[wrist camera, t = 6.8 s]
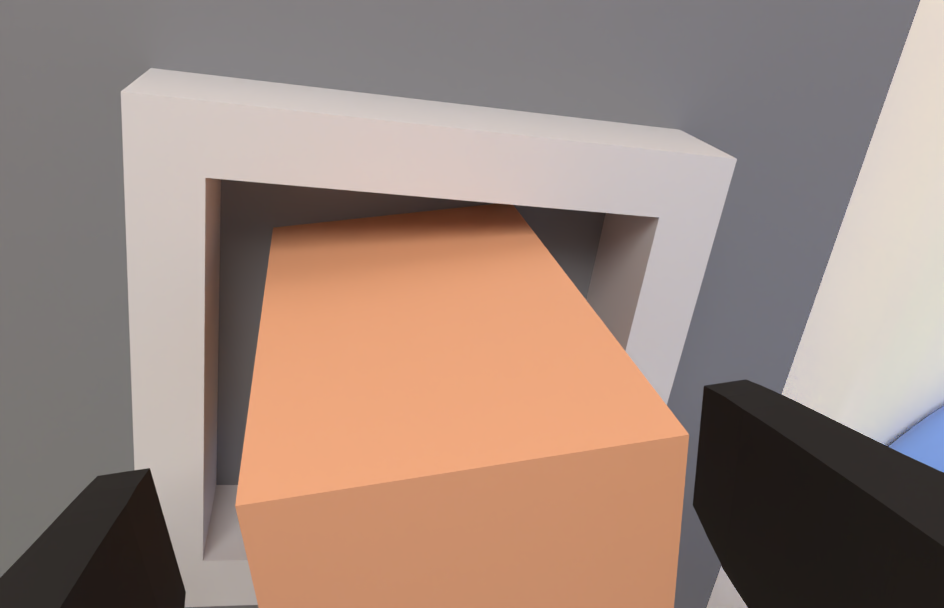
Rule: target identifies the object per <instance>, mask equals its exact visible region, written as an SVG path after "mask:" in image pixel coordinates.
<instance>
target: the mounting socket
mask: <svg viewBox="0 0 944 608" xmlns="http://www.w3.org/2000/svg"><path fill="white" fill-rule="evenodd" d="M919 2H920V0H0V577H1V576H2V575H3V574H4V573H5V572H6V571H7V570H8V569H9V568H10V567H11V566H12V565H13V564H14V563H15V562H16V561H17V560H18V559H19V558H20V557H21V556H22V555H23V554H24V552H25V551H26V550H27V549H28V548H29V547H30V546H31V545H32V544H33V543H34V542H35V541H36V540H37V539H38V538H39V537H40V536H41V534H42V533H43V532H44V531H45V530H46V529H47V528H48V527H49V526H50V525H51V524H52V523H53V522H54V521H55V520H56V518H57V517H58V516H59V515H60V514H61V513H62V512H63V511H64V510H65V509H66V508H67V507H68V506H69V505H70V503H71V502H72V501H73V500H74V499H75V498H76V497H77V496H78V495H79V494H80V493H81V492H82V491H83V490H84V489H85V488H86V487H87V486H88V485H89V484H90V483H91V482H92V481H93V480H94V479H95V478H96V477H97V476H100V475H106V474H113V473H120V472H126V471H133V470H140V469H147V468H150V470H151V474H152V477H153V480H154V484H155V487H156V491H157V494H158V498H159V501H160V505H161V508H162V512H163V515H164V519H165V522H166V525H167V529H168V532H169V536H170V539H171V543H172V546H173V550H174V553H175V557H176V560H177V563H178V567H179V570H180V574H181V577H182V581H183V584H184V588H185V591H186V595H185V607H184V608H259V607H258V603H257V599H256V594H255V590H254V586H253V581H252V577H251V573H250V568H249V564H248V560H247V555H246V551H245V547H244V543H243V538H242V534H241V530H240V525H239V521H238V517H237V512H236V508H235V503H236V496H237V488H238V481H239V474H240V466H241V459H242V452H243V444H244V437H245V430H246V422H247V415H248V408H249V400H250V393H251V386H252V378H253V371H254V364H255V356H256V349H257V342H258V334H259V327H260V320H261V312H262V305H263V298H264V290H265V283H266V276H267V268H268V261H269V254H270V246H271V239H272V232H273V228H274V227H283V226H292V225H302V224H311V223H320V222H330V221H339V220H348V219H358V218H367V217H376V216H386V215H395V214H405V213H414V212H423V211H433V210H442V209H451V208H461V207H470V206H479V205H489V204H498V203H499V204H510V205H514V207H515V208H516V209H517V210H518V212H519V213H520V214H521V216H522V217H523V218H524V220H525V221H526V222H527V224H528V225H529V226H530V227H531V229H532V230H533V231H534V233H535V234H536V235H537V237H538V238H539V239H540V240H541V242H542V243H543V244H544V246H545V247H546V248H547V250H548V251H549V252H550V254H551V255H552V256H553V257H554V259H555V260H556V261H557V263H558V264H559V265H560V267H561V268H562V269H563V271H564V272H565V273H566V274H567V276H568V277H569V278H570V280H571V281H572V282H573V284H574V285H575V286H576V287H577V289H578V290H579V291H580V293H581V294H582V295H583V297H584V298H585V299H586V301H587V302H588V303H589V304H590V306H591V307H592V308H593V310H594V311H595V312H596V314H597V315H598V316H599V317H600V319H601V320H602V321H603V323H604V324H605V325H606V327H607V328H608V329H609V331H610V332H611V333H612V334H613V336H614V337H615V338H616V340H617V341H618V342H619V344H620V345H621V346H622V348H623V349H624V350H625V351H626V353H627V354H628V355H629V357H630V358H631V359H632V361H633V362H634V363H635V364H636V366H637V367H638V368H639V370H640V371H641V372H642V374H643V375H644V376H645V378H646V379H647V380H648V381H649V383H650V384H651V385H652V387H653V388H654V389H655V391H656V392H657V393H658V394H659V396H660V397H661V398H662V400H663V401H664V402H665V404H666V405H667V406H668V408H669V409H670V410H671V411H672V413H673V414H674V415H675V417H676V418H677V419H678V421H679V422H680V423H681V424H682V426H683V427H684V428H685V430H686V431H687V432H688V434H689V443H688V454H687V465H686V476H685V488H684V499H683V510H682V522H681V533H680V544H679V555H678V567H677V578H676V589H675V600H674V608H706V607H707V604H708V601H709V598H710V595H711V592H712V590H713V587H714V584H715V581H716V578H717V575H718V573H719V570H720V567H721V563H720V561H719V559H718V557H717V555H716V553H715V551H714V549H713V547H712V545H711V543H710V541H709V539H708V537H707V535H706V533H705V530H704V528H703V526H702V524H701V522H700V520H699V518H698V515H697V513H696V511H695V509H694V507H693V496H694V485H695V475H696V464H697V453H698V443H699V432H700V421H701V411H702V400H703V389H704V386H705V385H711V384H718V383H725V382H731V381H738V380H745V379H746V380H749V381H751V382H754V383H756V384H759V385H761V386H764V387H766V388H768V389H770V390H773V391H775V392H777V393H779V394H782V391H783V388H784V385H785V382H786V380H787V377H788V374H789V371H790V368H791V365H792V363H793V360H794V357H795V354H796V351H797V348H798V346H799V343H800V340H801V337H802V334H803V331H804V328H805V326H806V323H807V320H808V317H809V314H810V311H811V309H812V306H813V303H814V300H815V297H816V294H817V292H818V289H819V286H820V283H821V280H822V277H823V275H824V272H825V269H826V266H827V263H828V260H829V258H830V255H831V252H832V249H833V246H834V243H835V240H836V238H837V235H838V232H839V229H840V226H841V223H842V221H843V218H844V215H845V212H846V209H847V206H848V204H849V201H850V198H851V195H852V192H853V189H854V187H855V184H856V181H857V178H858V175H859V172H860V170H861V167H862V164H863V161H864V158H865V155H866V152H867V150H868V147H869V144H870V141H871V138H872V135H873V133H874V130H875V127H876V124H877V121H878V118H879V116H880V113H881V110H882V107H883V104H884V101H885V99H886V96H887V93H888V90H889V87H890V84H891V82H892V79H893V76H894V73H895V70H896V67H897V64H898V62H899V59H900V56H901V53H902V50H903V47H904V45H905V42H906V39H907V36H908V33H909V30H910V28H911V25H912V22H913V19H914V16H915V13H916V11H917V8H918V5H919Z"/></svg>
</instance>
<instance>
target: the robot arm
mask: <svg viewBox="0 0 944 608" xmlns="http://www.w3.org/2000/svg"><path fill="white" fill-rule="evenodd" d="M693 507H694V509H695V511H696V513H697V515H698V518H699V520H700V522H701V524H702V526H703V528H704V530H705V533H706V535H707V537H708V539H709V541H710V543H711V545H712V547H713V549H714V551H715V553H716V555H717V557H718V559H719V561H720V563H721V565H722V567H723V569H724V571H725V572H726V574H727V576H728V577H729V579H730V580H731V582H732V584H733V585H734V587H735V588H736V590H737V591H738V593H739V594H740V596H741V597H742V599H743V601H744V602H745V604H746V605H747V607H748V608H944V472H941V471H939V470H937V469H935V468H933V467H930V466H928V465H926V464H924V463H922V462H919V461H917V460H915V459H913V458H911V457H909V456H906V455H904V454H902V453H900V452H898V451H896V450H894V449H892V448H890V447H887V446H885V445H883V444H881V443H879V442H877V441H875V440H873V439H871V438H869V437H867V436H865V435H863V434H861V433H859V432H857V431H855V430H853V429H851V428H848V427H846V426H844V425H842V424H840V423H838V422H836V421H834V420H832V419H830V418H828V417H826V416H824V415H822V414H820V413H818V412H816V411H814V410H812V409H810V408H808V407H806V406H804V405H802V404H800V403H798V402H796V401H794V400H792V399H790V398H787V397H785V396H783V395H781V394H779V393H777V392H775V391H773V390H770V389H768V388H766V387H764V386H761V385H759V384H756V383H754V382H751V381H749V380H746V379H745V380H738V381H731V382H725V383H718V384H711V385H705V386H704V389H703V400H702V411H701V421H700V432H699V443H698V453H697V464H696V475H695V485H694V496H693ZM185 595H186V591H185V588H184V584H183V581H182V577H181V574H180V570H179V567H178V563H177V560H176V557H175V553H174V550H173V546H172V543H171V539H170V536H169V532H168V529H167V525H166V522H165V519H164V515H163V512H162V508H161V505H160V501H159V498H158V494H157V491H156V487H155V484H154V480H153V477H152V474H151V470H150V468H147V469H140V470H133V471H126V472H120V473H113V474H106V475H100V476H97V477H96V478H95V479H94V480H93V481H92V482H91V483H90V484H89V485H88V486H87V487H86V488H85V489H84V490H83V491H82V492H81V493H80V494H79V495H78V496H77V497H76V498H75V499H74V500H73V501H72V502H71V503H70V505H69V506H68V507H67V508H66V509H65V510H64V511H63V512H62V513H61V514H60V515H59V516H58V517H57V518H56V520H55V521H54V522H53V523H52V524H51V525H50V526H49V527H48V528H47V529H46V530H45V531H44V532H43V533H42V534H41V536H40V537H39V538H38V539H37V540H36V541H35V542H34V543H33V544H32V545H31V546H30V547H29V548H28V549H27V550H26V551H25V552H24V554H23V555H22V556H21V557H20V558H19V559H18V560H17V561H16V562H15V563H14V564H13V565H12V566H11V567H10V568H9V569H8V570H7V571H6V572H5V573H4V574H3V575H2V576H1V577H0V608H184V607H185Z"/></svg>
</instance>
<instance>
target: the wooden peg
mask: <svg viewBox="0 0 944 608" xmlns="http://www.w3.org/2000/svg"><path fill="white" fill-rule="evenodd" d="M688 443H689V434H688V432H687V431H686V430H685V428H684V427H683V426H682V424H681V423H680V422H679V421H678V419H677V418H676V417H675V415H674V414H673V413H672V411H671V410H670V409H669V408H668V406H667V405H666V404H665V402H664V401H663V400H662V398H661V397H660V396H659V394H658V393H657V392H656V391H655V389H654V388H653V387H652V385H651V384H650V383H649V381H648V380H647V379H646V378H645V376H644V375H643V374H642V372H641V371H640V370H639V368H638V367H637V366H636V364H635V363H634V362H633V361H632V359H631V358H630V357H629V355H628V354H627V353H626V351H625V350H624V349H623V348H622V346H621V345H620V344H619V342H618V341H617V340H616V338H615V337H614V336H613V334H612V333H611V332H610V331H609V329H608V328H607V327H606V325H605V324H604V323H603V321H602V320H601V319H600V317H599V316H598V315H597V314H596V312H595V311H594V310H593V308H592V307H591V306H590V304H589V303H588V302H587V301H586V299H585V298H584V297H583V295H582V294H581V293H580V291H579V290H578V289H577V287H576V286H575V285H574V284H573V282H572V281H571V280H570V278H569V277H568V276H567V274H566V273H565V272H564V271H563V269H562V268H561V267H560V265H559V264H558V263H557V261H556V260H555V259H554V257H553V256H552V255H551V254H550V252H549V251H548V250H547V248H546V247H545V246H544V244H543V243H542V242H541V240H540V239H539V238H538V237H537V235H536V234H535V233H534V231H533V230H532V229H531V227H530V226H529V225H528V224H527V222H526V221H525V220H524V218H523V217H522V216H521V214H520V213H519V212H518V210H517V209H516V208H515V207H514V205H510V204H499V203H498V204H489V205H479V206H470V207H461V208H451V209H442V210H433V211H423V212H414V213H405V214H395V215H386V216H376V217H367V218H358V219H348V220H339V221H330V222H320V223H311V224H302V225H292V226H283V227H274V228H273V232H272V239H271V246H270V254H269V261H268V268H267V276H266V283H265V290H264V298H263V305H262V312H261V320H260V327H259V334H258V342H257V349H256V356H255V364H254V371H253V378H252V386H251V393H250V400H249V408H248V415H247V422H246V430H245V437H244V444H243V452H242V459H241V466H240V474H239V481H238V488H237V496H236V503H235V508H236V512H237V517H238V521H239V525H240V530H241V534H242V538H243V543H244V547H245V551H246V555H247V560H248V564H249V568H250V573H251V577H252V581H253V586H254V590H255V594H256V599H257V603H258V607H259V608H674V600H675V589H676V578H677V567H678V555H679V544H680V533H681V522H682V510H683V499H684V488H685V476H686V465H687V454H688Z"/></svg>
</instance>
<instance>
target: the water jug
mask: <svg viewBox="0 0 944 608" xmlns="http://www.w3.org/2000/svg"><path fill="white" fill-rule="evenodd" d="M888 447H890V448H892V449H894V450H896V451H898V452H900V453H902V454H904V455H906V456H909V457H911V458H913V459H915V460H917V461H919V462H922V463H924V464H926V465H928V466H930V467H933V468H935V469H937V470H939V471H941V472H944V406H943V407H941V408H939V409H938V410H936V411H935V412H933V413H932V414H930V415H929V416H927V417H926V418H925V419H923V420H922V421H920V422H919V423H918V424H916V425H915V426H914V427H912V428H911V429H910V430H908V431H907V432H906V433H904V434H903V435H902V436H901V437H899V438H898V439H897V440H896V441H894V442H893V443H892V444H891V445H890V446H888Z"/></svg>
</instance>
